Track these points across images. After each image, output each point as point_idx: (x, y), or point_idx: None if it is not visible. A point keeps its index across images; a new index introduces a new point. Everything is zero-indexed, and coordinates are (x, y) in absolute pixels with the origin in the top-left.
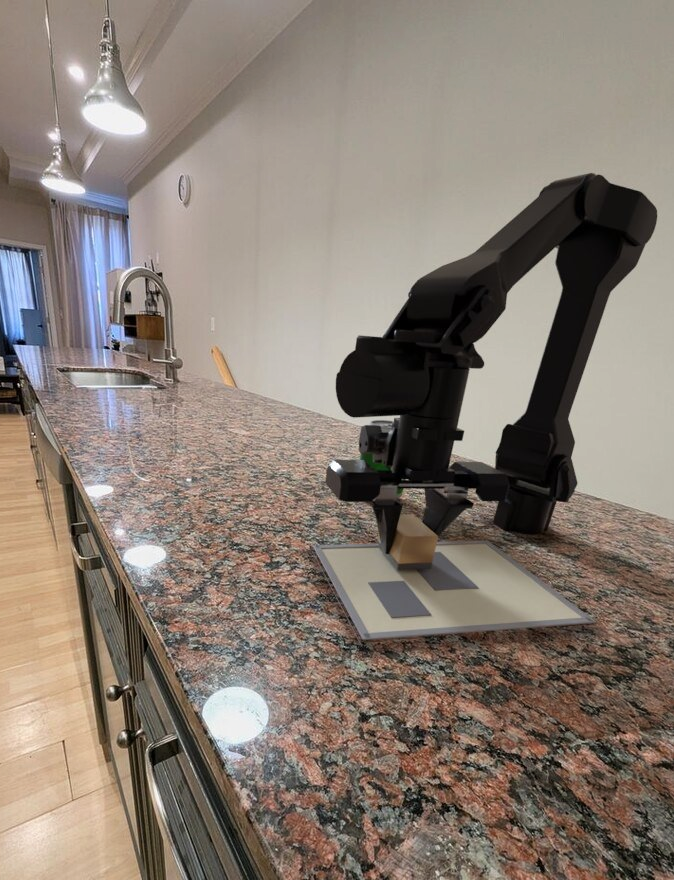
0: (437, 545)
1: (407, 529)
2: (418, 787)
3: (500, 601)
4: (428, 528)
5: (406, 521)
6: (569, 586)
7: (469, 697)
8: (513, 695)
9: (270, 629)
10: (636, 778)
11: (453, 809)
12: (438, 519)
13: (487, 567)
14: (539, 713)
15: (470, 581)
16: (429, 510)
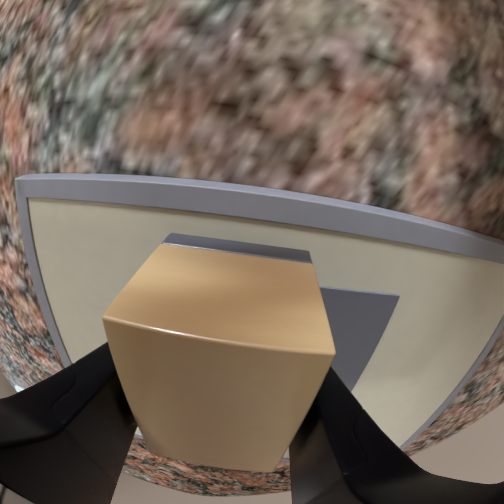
0: (430, 250)
1: (184, 441)
2: (125, 463)
3: None
4: (280, 453)
5: (219, 409)
6: (482, 383)
7: (183, 463)
8: (222, 471)
9: (19, 357)
10: (251, 492)
11: (139, 470)
12: (294, 501)
13: (429, 366)
14: (230, 478)
15: None
16: (323, 486)
